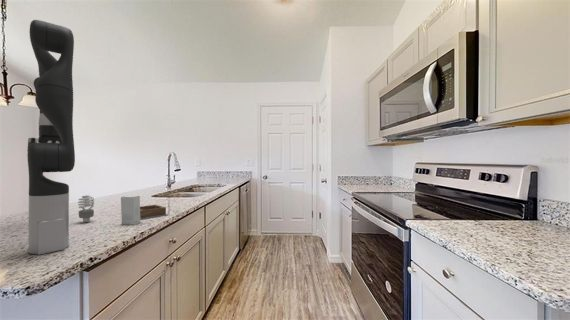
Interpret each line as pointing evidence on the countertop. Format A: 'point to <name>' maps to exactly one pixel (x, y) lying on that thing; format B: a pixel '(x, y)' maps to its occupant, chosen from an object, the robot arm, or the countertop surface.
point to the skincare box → (130, 210)
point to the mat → (153, 217)
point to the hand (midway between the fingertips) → (50, 163)
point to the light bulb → (86, 212)
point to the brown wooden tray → (152, 211)
